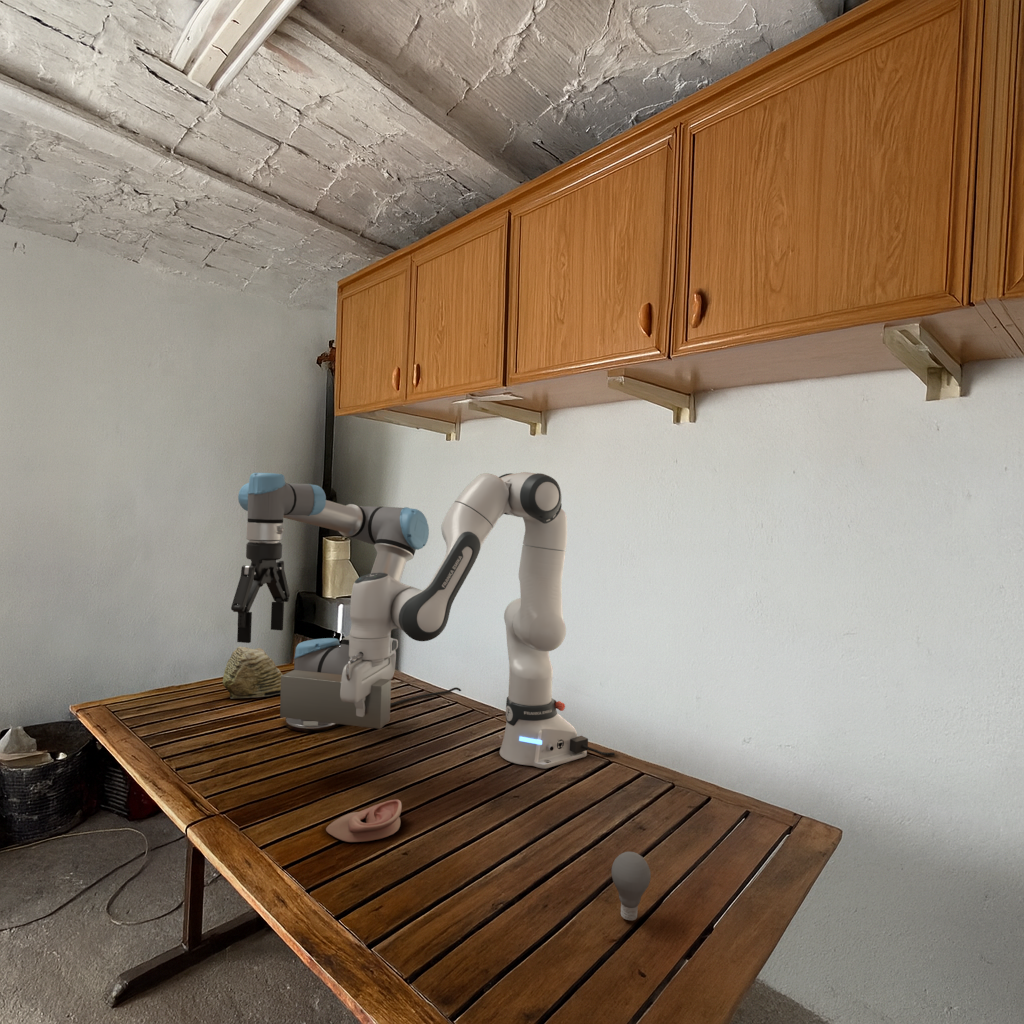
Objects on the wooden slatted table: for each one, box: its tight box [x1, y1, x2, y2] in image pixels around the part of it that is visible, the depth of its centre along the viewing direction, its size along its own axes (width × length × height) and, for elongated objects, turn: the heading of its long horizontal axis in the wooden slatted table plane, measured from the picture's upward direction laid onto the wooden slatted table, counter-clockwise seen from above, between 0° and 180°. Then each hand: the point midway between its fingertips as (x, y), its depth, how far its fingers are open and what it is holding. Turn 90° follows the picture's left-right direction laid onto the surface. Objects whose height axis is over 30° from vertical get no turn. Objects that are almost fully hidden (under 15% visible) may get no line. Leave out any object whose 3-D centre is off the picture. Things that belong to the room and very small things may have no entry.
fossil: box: [222, 646, 283, 699], centre depth 198 cm, size 9×18×15 cm, turn 132°
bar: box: [279, 669, 392, 730], centre depth 140 cm, size 24×5×9 cm, turn 78°
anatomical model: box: [325, 799, 403, 843], centre depth 122 cm, size 13×4×12 cm
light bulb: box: [611, 851, 652, 921], centre depth 99 cm, size 6×6×10 cm
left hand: (261, 635), depth 143 cm, fingers open, 13 cm apart
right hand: (368, 710), depth 138 cm, fingers closed on bar, 5 cm apart
